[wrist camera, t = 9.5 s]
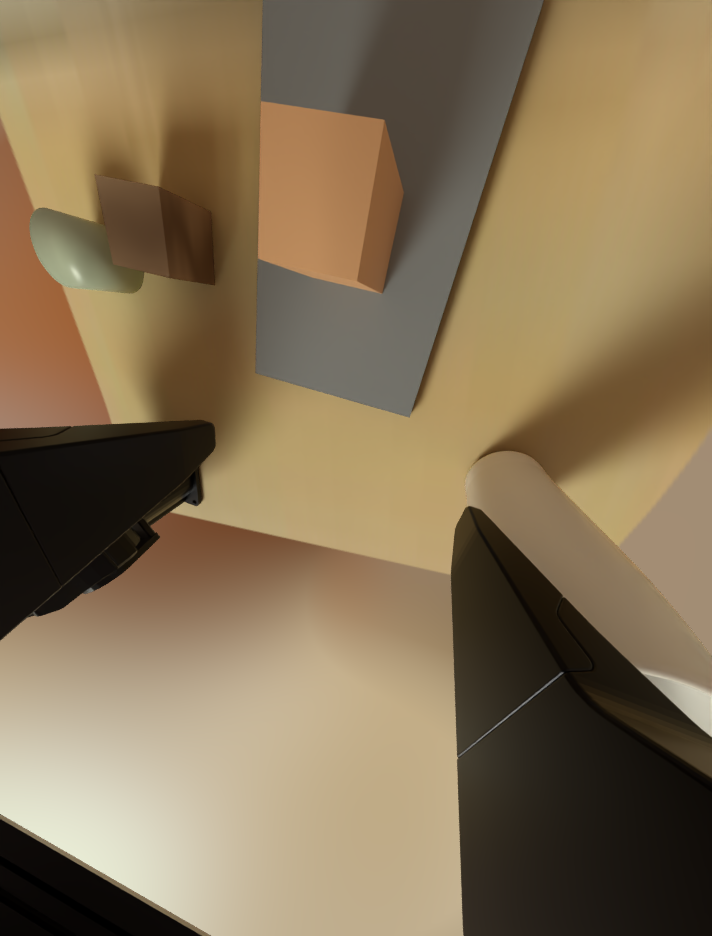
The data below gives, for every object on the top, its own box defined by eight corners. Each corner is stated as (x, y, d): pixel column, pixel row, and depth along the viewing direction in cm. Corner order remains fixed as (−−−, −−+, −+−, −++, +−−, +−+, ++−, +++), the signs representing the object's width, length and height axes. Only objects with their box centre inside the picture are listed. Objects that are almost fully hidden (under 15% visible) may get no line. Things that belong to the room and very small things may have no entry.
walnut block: (215, 285, 20) (169, 278, 16) (167, 273, 20) (113, 264, 17) (212, 212, 18) (158, 186, 14) (158, 201, 18) (94, 174, 15)
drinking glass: (551, 515, 21) (725, 815, 8) (457, 518, 23) (480, 758, 10) (558, 432, 18) (836, 688, 6) (451, 443, 21) (471, 645, 8)
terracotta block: (382, 293, 16) (356, 281, 11) (312, 277, 17) (257, 258, 12) (403, 192, 14) (384, 119, 9) (322, 177, 15) (260, 100, 10)
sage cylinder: (148, 298, 22) (93, 293, 18) (105, 287, 22) (43, 280, 19) (138, 233, 20) (73, 214, 16) (91, 222, 20) (19, 202, 17)
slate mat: (410, 413, 20) (409, 417, 19) (262, 371, 22) (255, 373, 21) (544, -4, 11) (553, -30, 10) (275, -28, 13) (264, -53, 12)
